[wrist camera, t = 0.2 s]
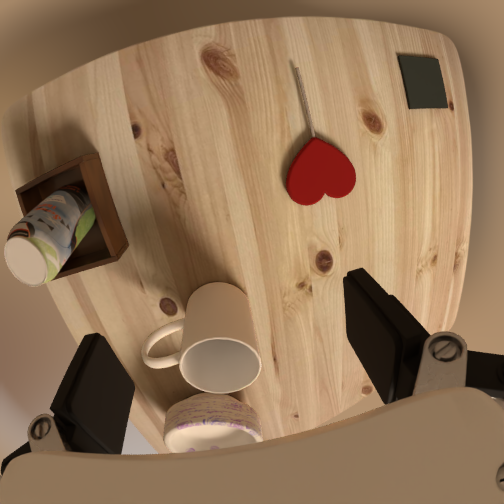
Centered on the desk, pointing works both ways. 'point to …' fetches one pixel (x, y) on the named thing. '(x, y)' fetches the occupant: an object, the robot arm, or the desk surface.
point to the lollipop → (318, 168)
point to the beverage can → (49, 235)
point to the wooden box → (106, 221)
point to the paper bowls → (210, 424)
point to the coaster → (423, 82)
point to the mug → (213, 341)
